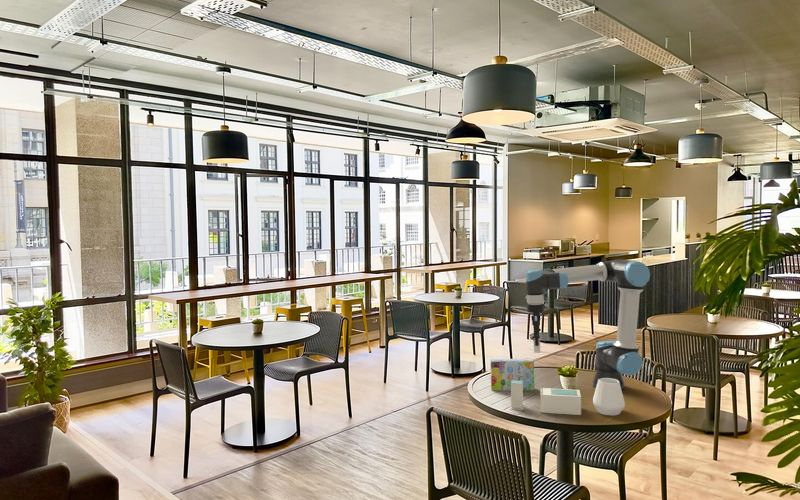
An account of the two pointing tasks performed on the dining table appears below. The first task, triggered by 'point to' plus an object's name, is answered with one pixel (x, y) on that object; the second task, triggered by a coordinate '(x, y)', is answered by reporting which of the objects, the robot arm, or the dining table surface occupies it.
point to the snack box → (511, 373)
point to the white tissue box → (560, 401)
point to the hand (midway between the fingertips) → (537, 348)
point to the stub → (516, 394)
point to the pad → (516, 408)
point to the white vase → (608, 397)
